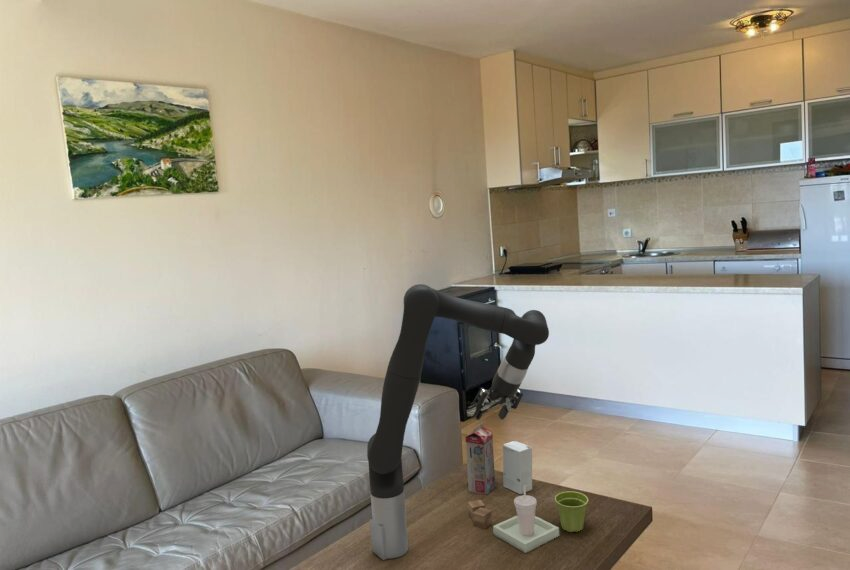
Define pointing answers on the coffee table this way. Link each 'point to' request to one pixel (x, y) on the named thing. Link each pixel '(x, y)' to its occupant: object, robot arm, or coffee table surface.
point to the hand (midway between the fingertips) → (488, 417)
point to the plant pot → (571, 510)
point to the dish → (512, 535)
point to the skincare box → (517, 466)
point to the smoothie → (525, 513)
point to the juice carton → (480, 460)
